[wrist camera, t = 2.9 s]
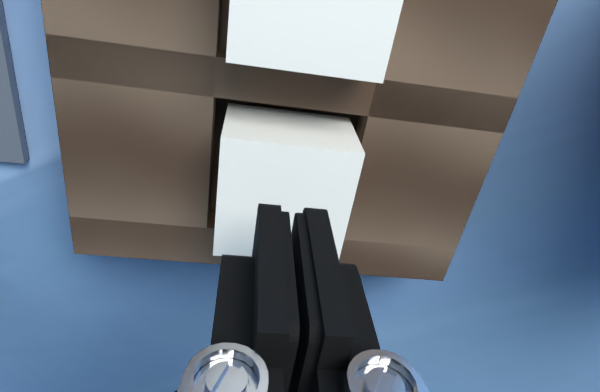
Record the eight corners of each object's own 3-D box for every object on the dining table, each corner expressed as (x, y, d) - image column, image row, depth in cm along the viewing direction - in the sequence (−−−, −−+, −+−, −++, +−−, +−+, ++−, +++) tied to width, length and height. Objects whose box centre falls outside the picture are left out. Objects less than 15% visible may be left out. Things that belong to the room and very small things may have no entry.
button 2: (327, 217, 17) (337, 265, 14) (220, 207, 16) (212, 255, 14) (349, 117, 15) (365, 154, 12) (228, 102, 14) (220, 137, 12)
